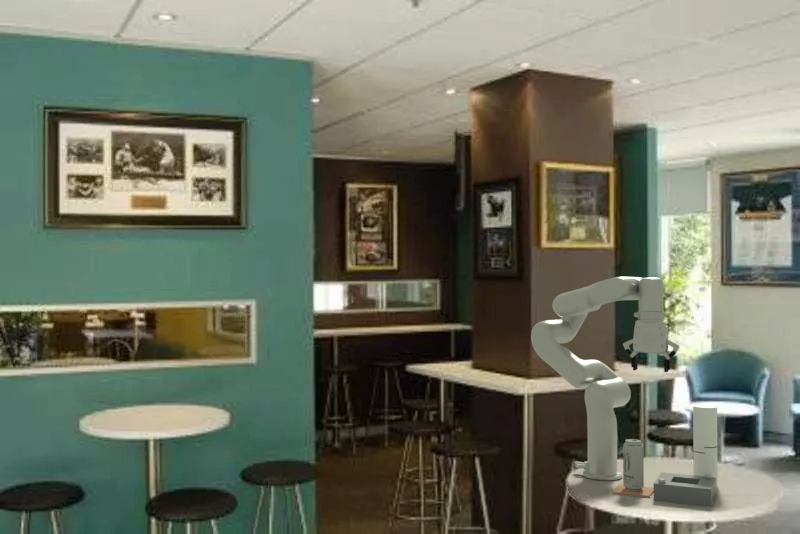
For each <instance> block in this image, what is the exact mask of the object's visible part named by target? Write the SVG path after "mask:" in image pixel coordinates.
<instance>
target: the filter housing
mask: <svg viewBox="0 0 800 534" xmlns="http://www.w3.org/2000/svg"><path fill="white" fill-rule="evenodd" d="M653 488H654V492H653V501H654V500H655V502H663V501H665V502H666V503H674V504H683V505H692V506H702V507H709V508H710V507H711V508H712V506H713V504H714V501H715V498H716V496H717V487H716V477H712V475H710V474H705V476H695V475H694V474H685V473H684V474H683V473H672V472H660V473H659V475H658V477H657V478H656V480H654V482H653Z"/></svg>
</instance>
